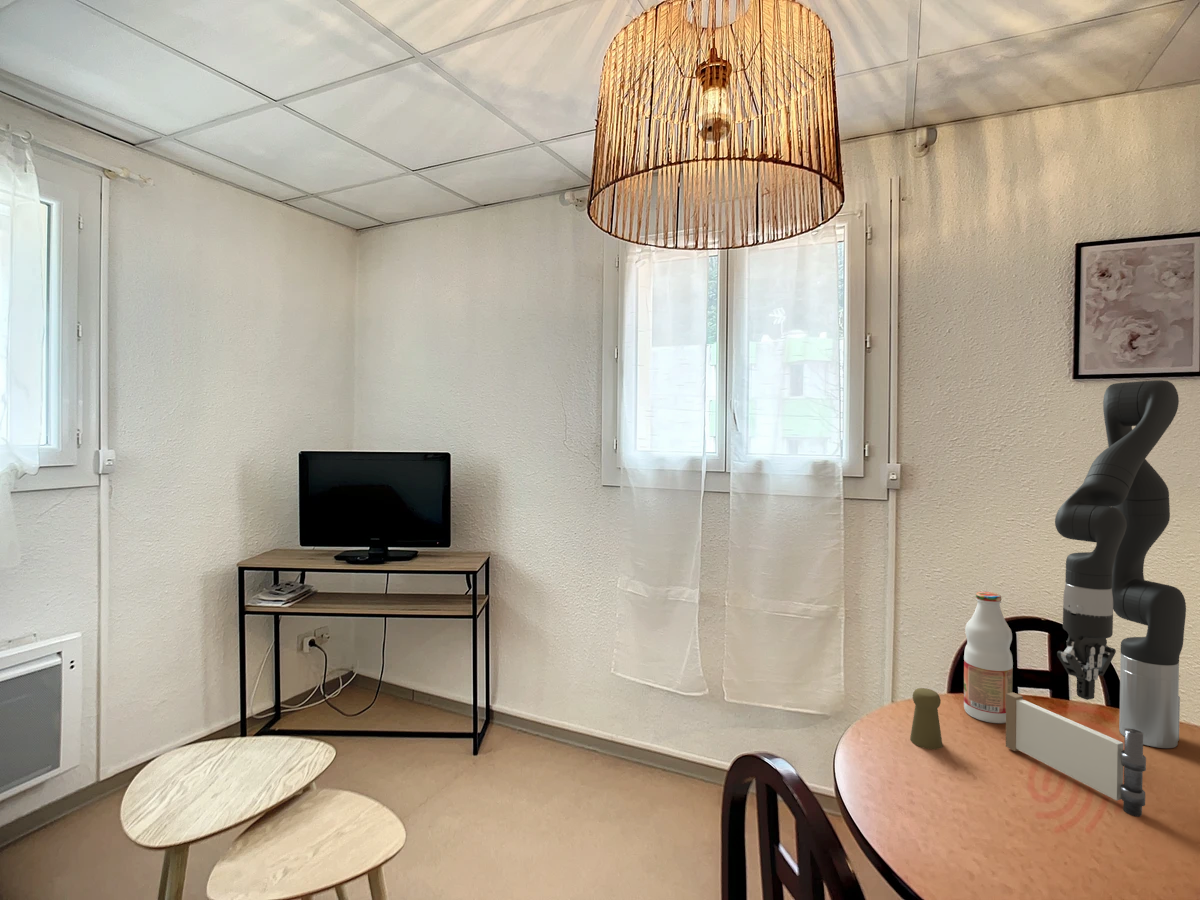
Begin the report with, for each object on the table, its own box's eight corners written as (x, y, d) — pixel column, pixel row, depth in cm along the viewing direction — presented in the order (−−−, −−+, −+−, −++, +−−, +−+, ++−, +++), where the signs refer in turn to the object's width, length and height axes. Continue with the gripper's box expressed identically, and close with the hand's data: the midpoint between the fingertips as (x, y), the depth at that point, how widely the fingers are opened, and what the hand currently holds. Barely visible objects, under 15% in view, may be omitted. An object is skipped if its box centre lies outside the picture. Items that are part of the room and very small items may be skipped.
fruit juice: (981, 725, 136) (982, 600, 136) (954, 706, 146) (955, 589, 145) (1022, 723, 137) (1023, 599, 136) (992, 704, 146) (993, 588, 145)
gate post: (1128, 804, 107) (1129, 726, 107) (1149, 815, 104) (1151, 734, 104) (1115, 808, 106) (1117, 729, 106) (1136, 819, 103) (1138, 737, 103)
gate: (1123, 801, 108) (1124, 739, 107) (1115, 803, 107) (1116, 741, 107) (1012, 744, 127) (1013, 692, 127) (1005, 746, 127) (1006, 693, 126)
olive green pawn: (946, 750, 126) (947, 697, 126) (914, 748, 127) (915, 695, 127) (937, 736, 132) (937, 685, 132) (906, 733, 133) (906, 683, 133)
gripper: (1091, 600, 123) (1089, 685, 124) (1043, 606, 119) (1040, 694, 120) (1133, 611, 116) (1131, 701, 117) (1083, 617, 112) (1081, 710, 113)
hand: (1085, 697), depth 118 cm, fingers closed
